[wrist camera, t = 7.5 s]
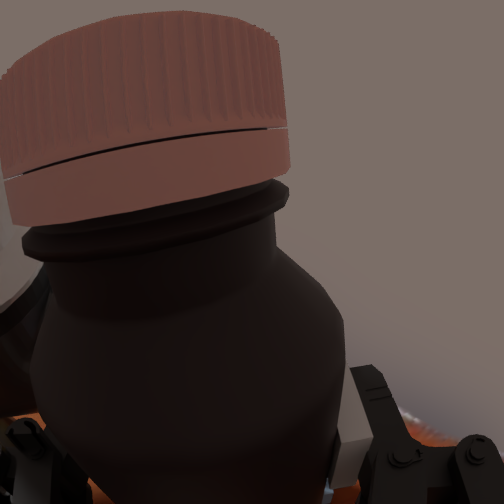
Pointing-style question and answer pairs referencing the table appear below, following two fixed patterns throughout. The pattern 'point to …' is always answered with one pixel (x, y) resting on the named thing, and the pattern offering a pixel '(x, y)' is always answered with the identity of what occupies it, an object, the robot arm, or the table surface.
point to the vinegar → (170, 263)
